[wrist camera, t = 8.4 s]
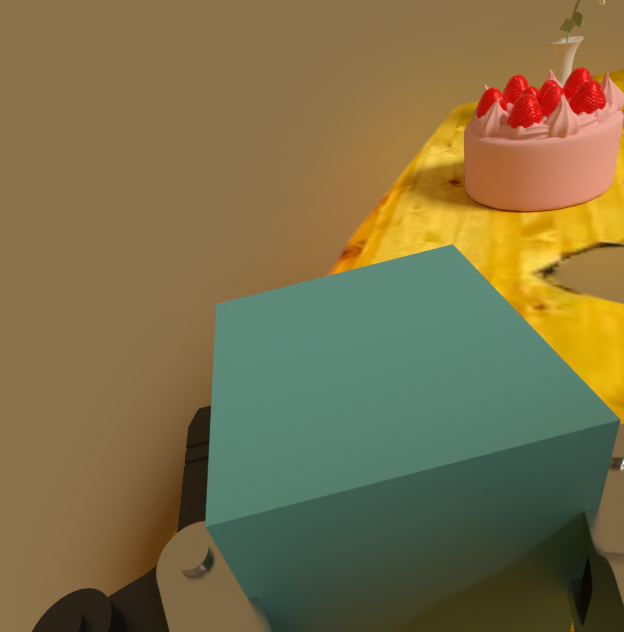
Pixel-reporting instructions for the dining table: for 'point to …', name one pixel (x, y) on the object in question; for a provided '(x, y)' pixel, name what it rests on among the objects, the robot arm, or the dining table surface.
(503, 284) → the dining table surface
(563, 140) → the cake
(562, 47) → the flower in vase
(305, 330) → the teal pillar
